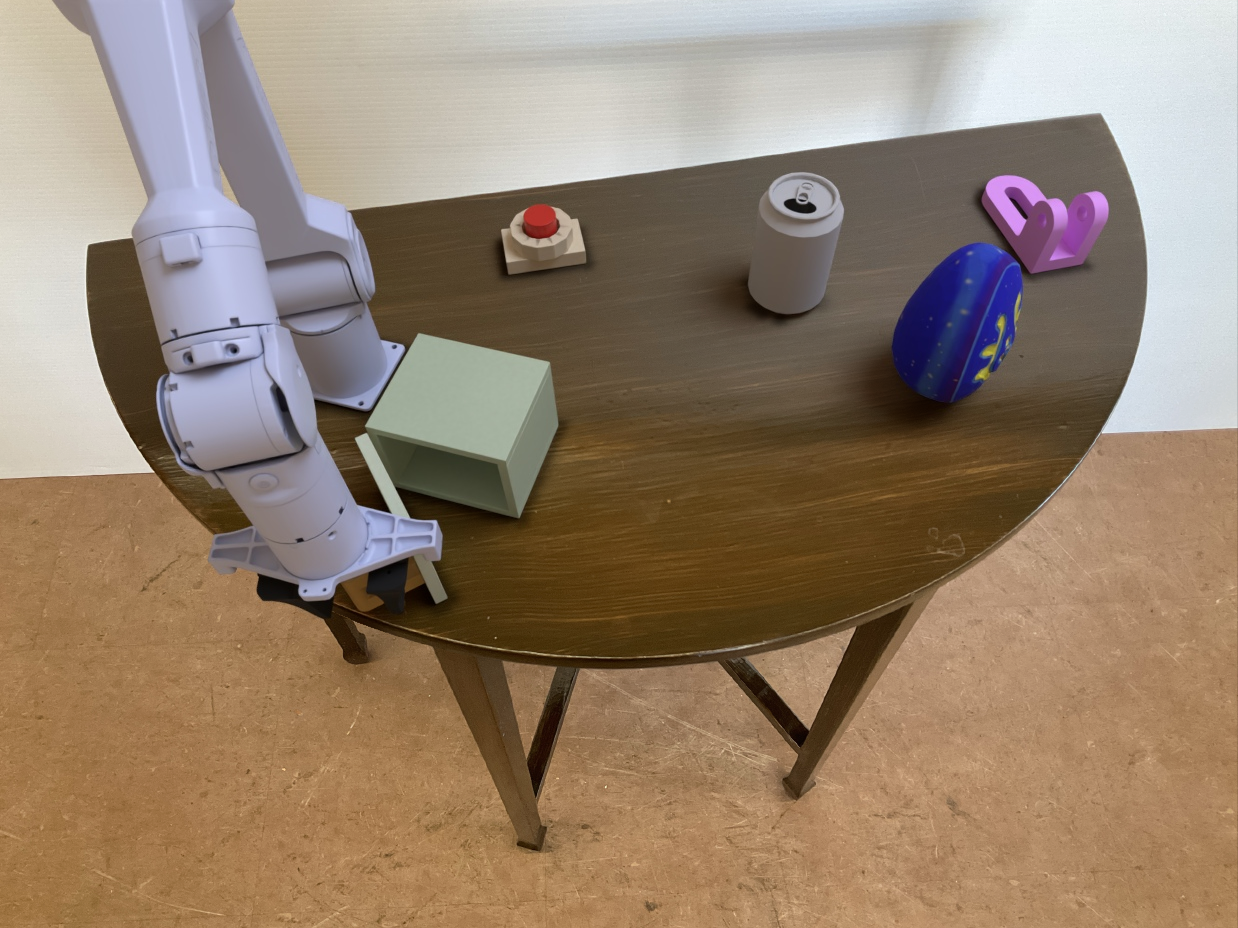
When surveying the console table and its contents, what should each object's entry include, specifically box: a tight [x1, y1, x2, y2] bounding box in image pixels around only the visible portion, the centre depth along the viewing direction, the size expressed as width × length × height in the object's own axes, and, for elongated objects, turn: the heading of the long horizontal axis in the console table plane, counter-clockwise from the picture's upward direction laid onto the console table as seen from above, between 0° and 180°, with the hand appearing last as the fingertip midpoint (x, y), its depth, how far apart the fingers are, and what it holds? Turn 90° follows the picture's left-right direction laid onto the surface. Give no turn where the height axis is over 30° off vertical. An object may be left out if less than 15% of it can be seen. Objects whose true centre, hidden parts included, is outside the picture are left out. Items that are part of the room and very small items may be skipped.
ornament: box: [891, 242, 1024, 404], centre depth 72 cm, size 11×9×15 cm
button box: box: [500, 206, 587, 276], centre depth 87 cm, size 8×6×4 cm
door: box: [339, 432, 448, 613], centre depth 65 cm, size 6×12×8 cm, turn 30°
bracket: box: [981, 174, 1110, 274], centre depth 86 cm, size 13×6×7 cm, turn 13°
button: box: [523, 204, 557, 239], centre depth 85 cm, size 3×3×2 cm
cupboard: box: [364, 332, 559, 519], centre depth 71 cm, size 10×12×9 cm
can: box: [747, 171, 845, 315], centre depth 79 cm, size 8×8×12 cm
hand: (362, 603), depth 62 cm, fingers open, 4 cm apart
